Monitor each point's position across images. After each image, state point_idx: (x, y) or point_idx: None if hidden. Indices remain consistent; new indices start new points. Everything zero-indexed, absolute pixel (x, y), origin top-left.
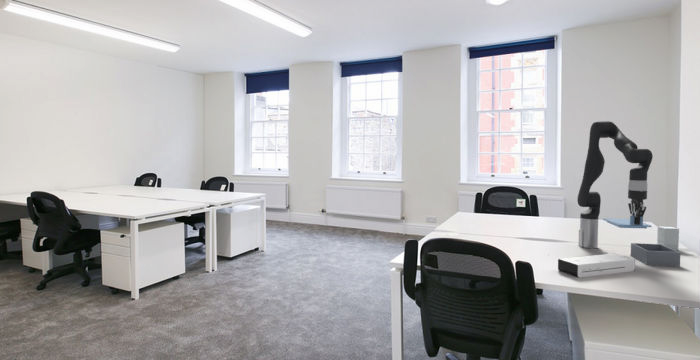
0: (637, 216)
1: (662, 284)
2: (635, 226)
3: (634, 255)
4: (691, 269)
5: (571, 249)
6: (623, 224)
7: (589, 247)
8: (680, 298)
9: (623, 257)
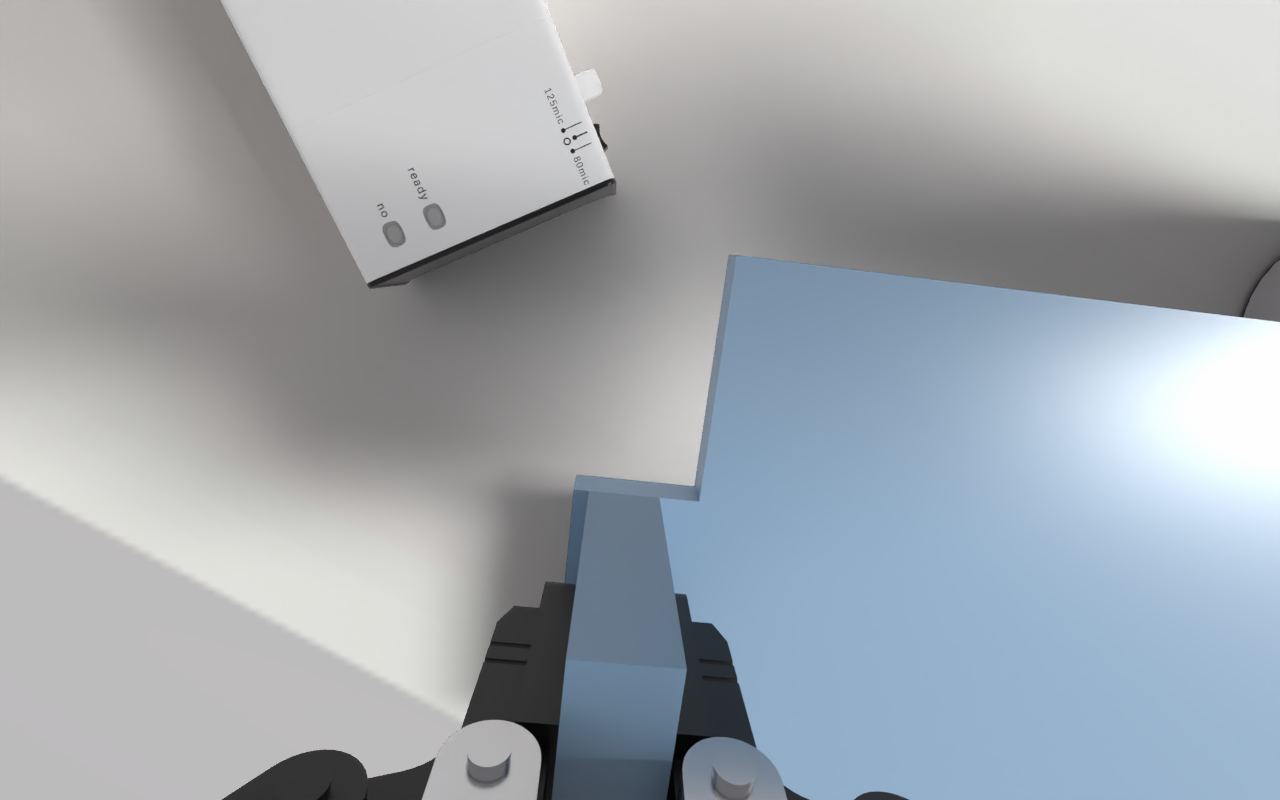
0: (393, 776)
1: (11, 279)
2: (566, 564)
3: None
4: None
5: (1242, 54)
6: (760, 405)
7: (1260, 290)
8: None
9: (408, 186)
